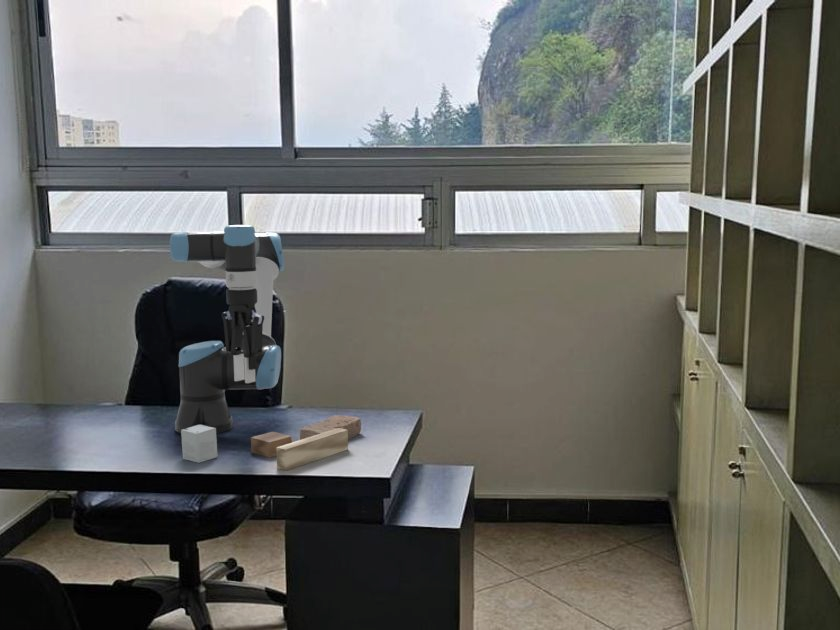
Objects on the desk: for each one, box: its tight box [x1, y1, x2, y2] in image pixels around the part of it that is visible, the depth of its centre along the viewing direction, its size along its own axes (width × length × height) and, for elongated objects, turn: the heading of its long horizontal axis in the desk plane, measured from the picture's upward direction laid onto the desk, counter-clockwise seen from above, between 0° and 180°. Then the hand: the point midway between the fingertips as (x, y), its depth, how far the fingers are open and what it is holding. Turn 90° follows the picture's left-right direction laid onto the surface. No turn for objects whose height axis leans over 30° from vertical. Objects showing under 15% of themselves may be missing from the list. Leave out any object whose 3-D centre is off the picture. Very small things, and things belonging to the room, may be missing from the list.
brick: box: [299, 414, 362, 440], centre depth 229 cm, size 17×8×5 cm, turn 148°
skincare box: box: [180, 425, 218, 464], centre depth 213 cm, size 6×6×7 cm
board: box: [276, 428, 349, 471], centre depth 212 cm, size 3×21×5 cm, turn 142°
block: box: [250, 431, 293, 458], centre depth 219 cm, size 7×7×4 cm
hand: (244, 381), depth 222 cm, fingers open, 3 cm apart
